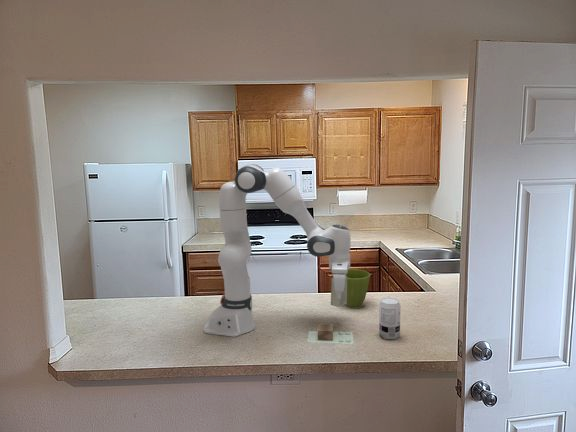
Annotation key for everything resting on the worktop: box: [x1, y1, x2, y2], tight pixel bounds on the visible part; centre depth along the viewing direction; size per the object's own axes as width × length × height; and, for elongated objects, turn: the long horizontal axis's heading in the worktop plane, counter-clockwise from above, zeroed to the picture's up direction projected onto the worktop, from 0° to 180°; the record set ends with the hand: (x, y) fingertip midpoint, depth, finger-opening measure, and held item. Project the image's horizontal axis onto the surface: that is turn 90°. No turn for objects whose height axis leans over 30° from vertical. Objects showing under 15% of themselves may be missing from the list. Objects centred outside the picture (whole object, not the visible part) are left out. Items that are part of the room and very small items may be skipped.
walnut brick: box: [317, 323, 334, 341], centre depth 163 cm, size 6×6×4 cm
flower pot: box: [345, 269, 371, 309], centre depth 198 cm, size 15×15×16 cm
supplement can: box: [378, 297, 401, 340], centre depth 165 cm, size 8×8×15 cm
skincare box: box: [330, 276, 347, 308], centre depth 172 cm, size 6×4×12 cm
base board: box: [307, 330, 354, 345], centre depth 163 cm, size 18×10×2 cm, turn 83°
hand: (338, 294), depth 172 cm, fingers closed on skincare box, 7 cm apart
